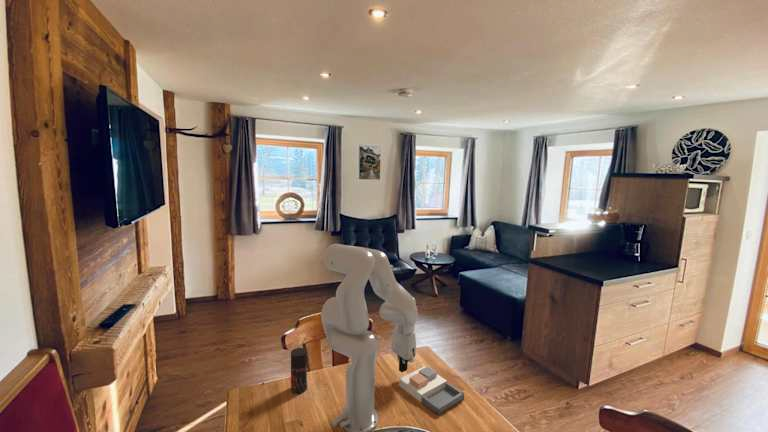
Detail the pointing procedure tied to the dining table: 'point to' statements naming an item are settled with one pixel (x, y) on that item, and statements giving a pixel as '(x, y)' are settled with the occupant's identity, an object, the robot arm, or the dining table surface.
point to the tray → (443, 399)
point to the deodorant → (298, 370)
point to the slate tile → (428, 373)
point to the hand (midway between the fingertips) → (403, 370)
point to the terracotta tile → (418, 380)
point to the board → (427, 390)
